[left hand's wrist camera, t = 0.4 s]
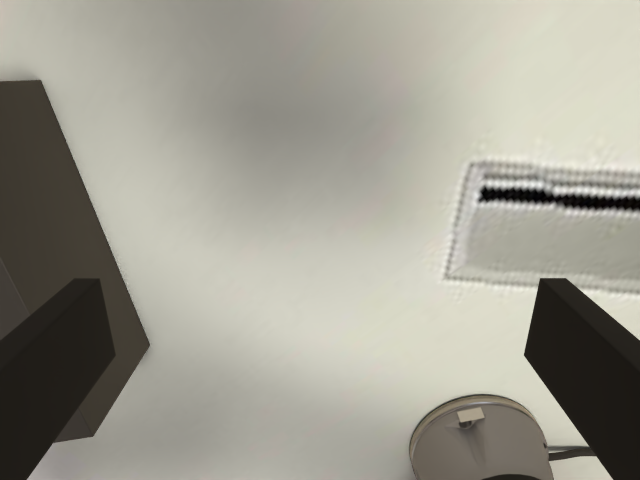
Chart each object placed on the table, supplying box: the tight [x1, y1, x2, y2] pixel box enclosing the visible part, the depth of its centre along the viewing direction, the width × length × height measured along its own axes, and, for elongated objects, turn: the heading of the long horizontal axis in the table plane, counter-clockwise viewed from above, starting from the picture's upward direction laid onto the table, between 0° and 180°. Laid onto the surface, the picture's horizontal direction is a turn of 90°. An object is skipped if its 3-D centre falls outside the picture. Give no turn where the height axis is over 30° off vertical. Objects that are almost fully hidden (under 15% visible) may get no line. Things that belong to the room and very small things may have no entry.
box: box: [0, 80, 150, 443], centre depth 35 cm, size 27×8×12 cm, turn 11°
